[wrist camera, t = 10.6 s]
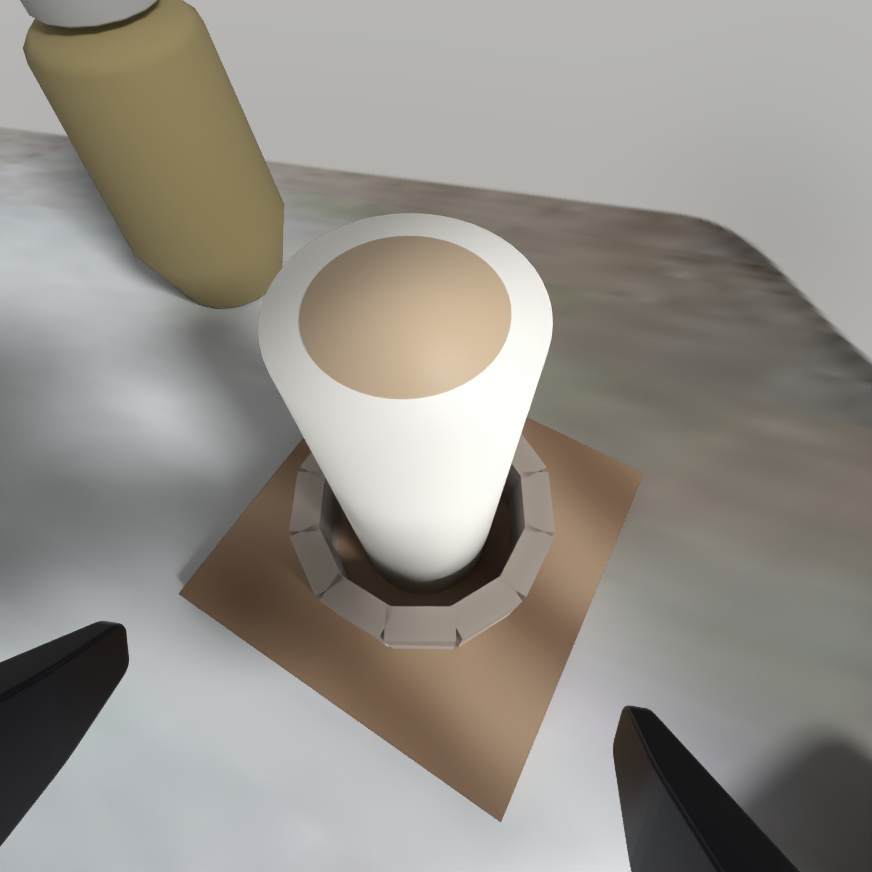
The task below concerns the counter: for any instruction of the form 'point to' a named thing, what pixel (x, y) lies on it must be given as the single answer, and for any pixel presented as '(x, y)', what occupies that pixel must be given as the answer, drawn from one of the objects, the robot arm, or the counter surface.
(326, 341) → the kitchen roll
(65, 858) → the counter surface
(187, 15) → the squeeze bottle
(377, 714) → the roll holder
